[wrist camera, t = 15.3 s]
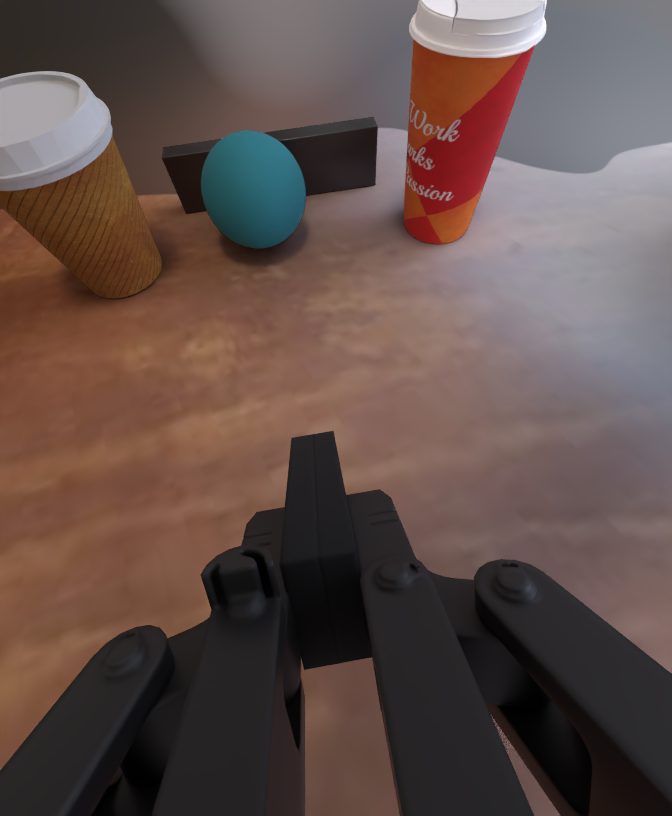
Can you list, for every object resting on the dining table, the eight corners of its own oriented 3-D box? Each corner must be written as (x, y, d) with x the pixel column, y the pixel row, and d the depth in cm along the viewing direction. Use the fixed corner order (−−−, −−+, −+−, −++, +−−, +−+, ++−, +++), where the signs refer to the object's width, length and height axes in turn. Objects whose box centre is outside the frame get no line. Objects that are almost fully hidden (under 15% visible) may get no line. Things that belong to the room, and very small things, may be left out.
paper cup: (380, 204, 35) (393, -19, 22) (460, 187, 35) (516, -39, 23) (408, 262, 31) (443, 35, 19) (497, 243, 32) (587, 9, 19)
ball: (318, 164, 25) (325, 245, 33) (270, 87, 27) (288, 180, 35) (207, 211, 25) (241, 283, 32) (166, 128, 27) (208, 214, 35)
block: (371, 175, 37) (373, 116, 32) (375, 185, 36) (377, 126, 32) (186, 203, 36) (162, 147, 32) (185, 213, 36) (161, 157, 31)
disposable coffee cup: (150, 322, 30) (34, 162, 19) (45, 304, 31) (-117, 146, 20) (199, 240, 34) (126, 71, 23) (104, 227, 35) (-5, 63, 25)
